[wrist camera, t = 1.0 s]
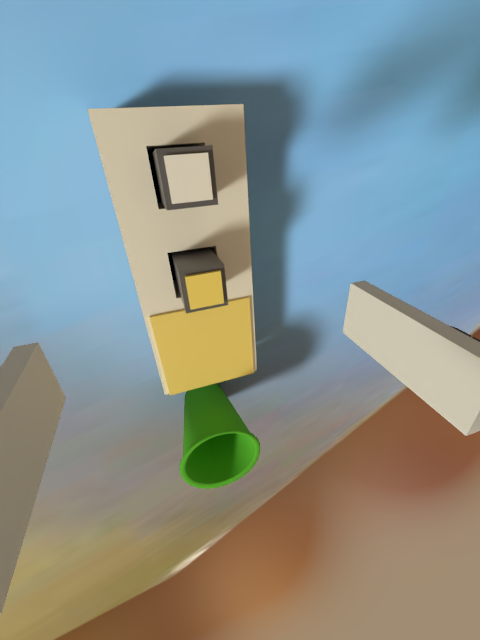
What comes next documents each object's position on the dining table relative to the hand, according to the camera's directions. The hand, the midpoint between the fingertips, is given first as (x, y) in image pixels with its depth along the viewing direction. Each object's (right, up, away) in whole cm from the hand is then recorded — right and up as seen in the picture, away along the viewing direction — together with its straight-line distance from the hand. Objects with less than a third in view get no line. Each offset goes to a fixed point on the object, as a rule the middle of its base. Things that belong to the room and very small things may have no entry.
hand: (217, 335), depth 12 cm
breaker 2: (-4, +6, +16) cm, 17 cm away
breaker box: (-5, +7, +19) cm, 20 cm away
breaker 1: (-4, +13, +12) cm, 18 cm away
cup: (-4, -10, +28) cm, 30 cm away
